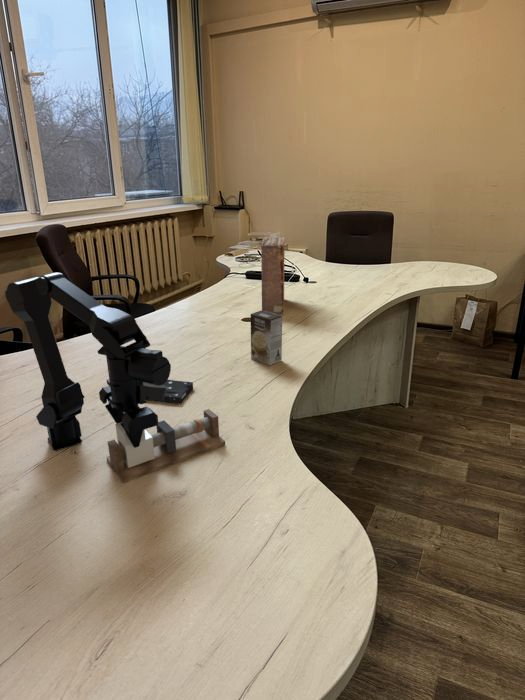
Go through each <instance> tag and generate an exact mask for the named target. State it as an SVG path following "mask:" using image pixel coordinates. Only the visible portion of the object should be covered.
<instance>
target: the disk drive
mask: <svg viewBox="0 0 525 700" xmlns="http://www.w3.org/2000/svg"><path fill="white" fill-rule="evenodd" d="M163 385H165V386H166V387H167V388H166V392H165V396H164V400H163V401H158V400H146V402H147V401H148V402H157V403H164V402H165V404H174V405H175V404H176V405H177V404H178V405H181V404H182V403H183V402H184V401H185V399H186V398H187V397H189V394H191V393H192V391H193V390H194V382H192V381H186V380H185V381H184V380H173V379H168V380H167V381H166V382H165V383H164V384H163Z"/></svg>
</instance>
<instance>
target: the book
mask: <svg viewBox="0 0 525 700" xmlns="http://www.w3.org/2000/svg"><path fill="white" fill-rule="evenodd" d="M285 237H286V236H283V237H266V235H265V236H264V237H263V240H262V242H261V248H260V249H261V250H260V253H261V255H260V257H261V310H265V311H269V312H272V313H276V314H279V315H282V316H283V314H284V306H285V305H284V304H285V242H286V241H285V240H286V239H285Z"/></svg>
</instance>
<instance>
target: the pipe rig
mask: <svg viewBox="0 0 525 700" xmlns="http://www.w3.org/2000/svg"><path fill="white" fill-rule="evenodd" d="M219 426H220V425H219V416H218V414H217V413H215V412H214V411H212V410H211V409H209V408H208V409H205V410H203V417H202V418H198V419H197V418H196V419H194V420H192V421H190V422H186V423H184V424H180V425H177V426H175V427H172V428H173V429H174V430H175V442H176V451H174V452H172V453H169V454H168V453H167V452H166V451H165V450H164V449H163V448H162V447H161V446H160V445H163V444H166V438H165V434H164V433H163V432H159V433H157V432H156V433H153V434H150V435H151V436H152V437H153V446H154V455H155V459H152V460H149V461H147V462H144V463H141V464H138V465H135V466H133V467H130V468H128V466H127V465H126V464H125V463H124V461H123V458H125V457H126V451H125V447H124V446H123V445H120V446H119V445H118V441H116V439H112V440H109V441H107V448H108V453H109V454H108V456H106V461H107V464H108V465H109V466H110V468H111V469H112V470H113V472H114V473H115V474H116V476H117V477H118V478H119V480H120V481H121V483H123V484H125V483H127V482H130V481H132V480H135V479H137V478H140V477H143V476H145V475H147V474H151V473H153V472H156V471H159V470H161V469H164V468H167V467H169V466H172V465H175V464H178V463H180V462H182V461H185V460H189V459H191V458H194V457H197V456H199V455H202V454H204V453H208V452H210V451H212V450H214V449H215V450H216V449H217V448H221V447H222V446H225V445H226V440H225V439H223V438H222V437H221V436H220V427H219Z"/></svg>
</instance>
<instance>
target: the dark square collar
mask: <svg viewBox="0 0 525 700" xmlns="http://www.w3.org/2000/svg"><path fill="white" fill-rule="evenodd" d="M155 428H156V433H159V432H163V433H164V434H165V438H166V444H163V445H160V446H161V447H162V448H163V449H164V450H165V451H166V452H167V453H168V454H169V453H172V452H174V451H176V442H175V430H174V429H173V428H174V427H172V426H171V425H170V424H169V423H168V422H167V421H166V420H161V421H158V425H157V426H155Z"/></svg>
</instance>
